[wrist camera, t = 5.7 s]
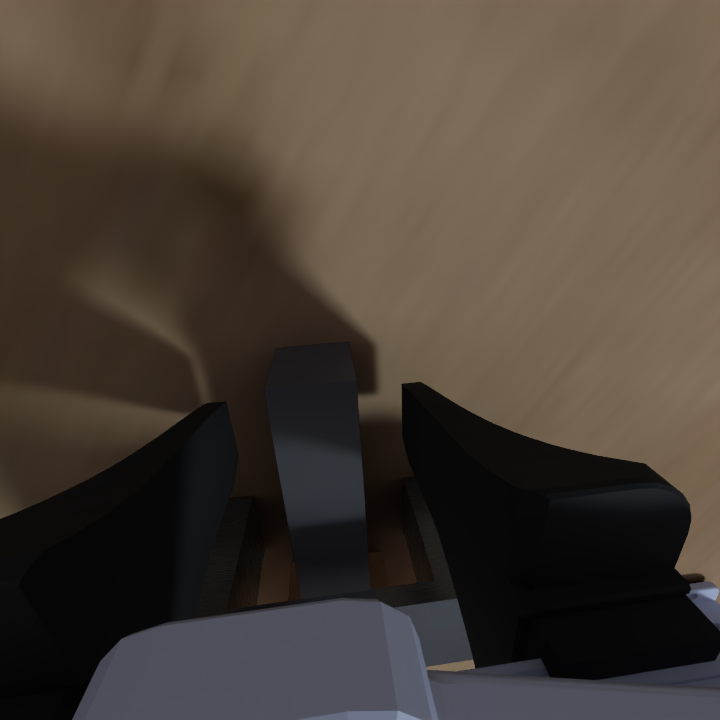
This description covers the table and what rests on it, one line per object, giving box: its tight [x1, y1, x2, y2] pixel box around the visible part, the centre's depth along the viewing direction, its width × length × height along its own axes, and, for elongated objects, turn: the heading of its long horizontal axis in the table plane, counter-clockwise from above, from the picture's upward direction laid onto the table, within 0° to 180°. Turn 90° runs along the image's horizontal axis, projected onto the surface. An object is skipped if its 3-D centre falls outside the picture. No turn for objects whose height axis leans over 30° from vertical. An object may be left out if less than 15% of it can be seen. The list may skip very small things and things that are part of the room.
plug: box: [264, 342, 388, 601], centre depth 14 cm, size 15×4×4 cm, turn 3°
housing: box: [196, 477, 473, 667], centre depth 13 cm, size 14×3×5 cm, turn 93°
